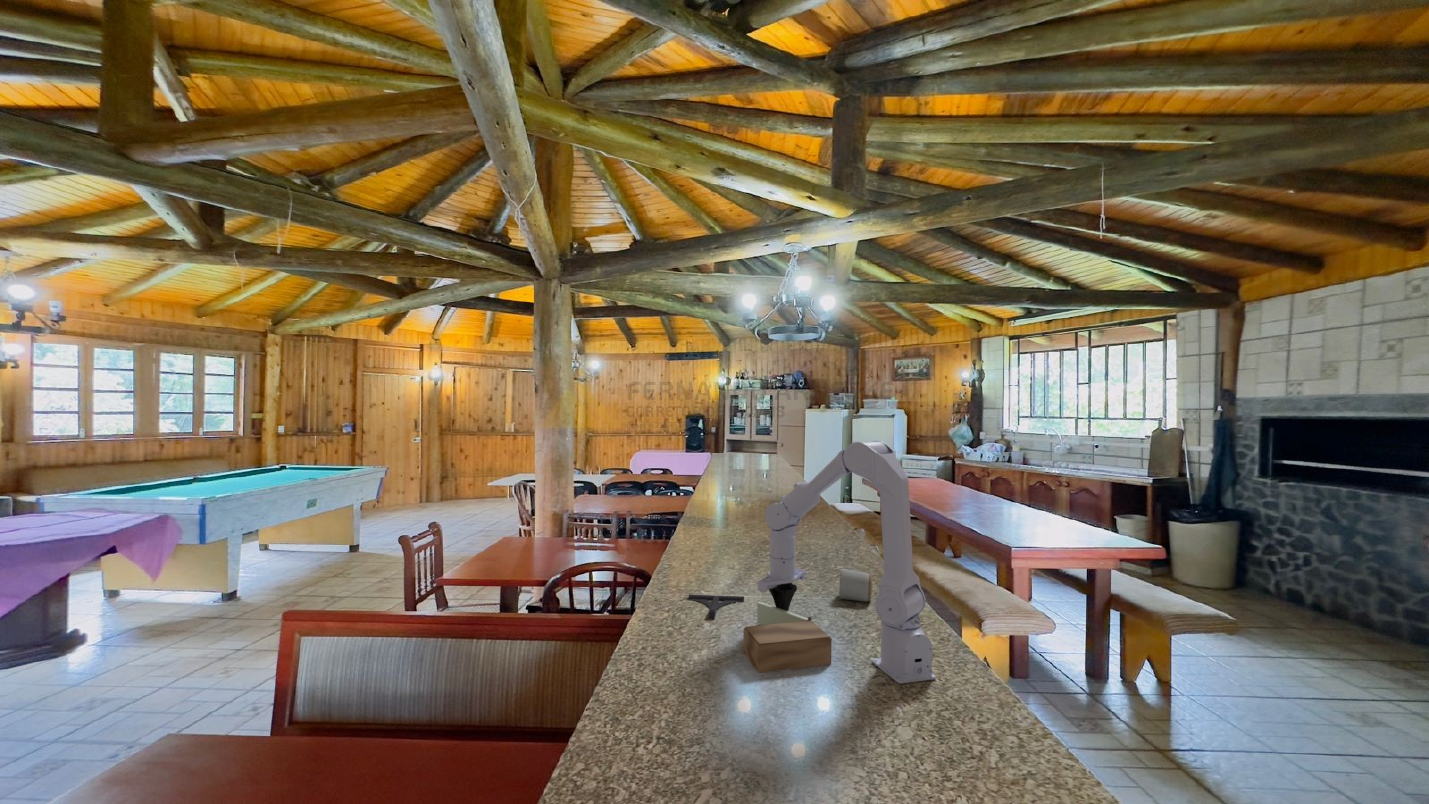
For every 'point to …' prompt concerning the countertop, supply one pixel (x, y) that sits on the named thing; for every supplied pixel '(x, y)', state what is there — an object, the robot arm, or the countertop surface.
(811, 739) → the countertop surface
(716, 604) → the bracket
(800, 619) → the door
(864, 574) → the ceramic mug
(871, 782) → the countertop surface
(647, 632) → the countertop surface
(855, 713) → the countertop surface
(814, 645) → the cabinet
